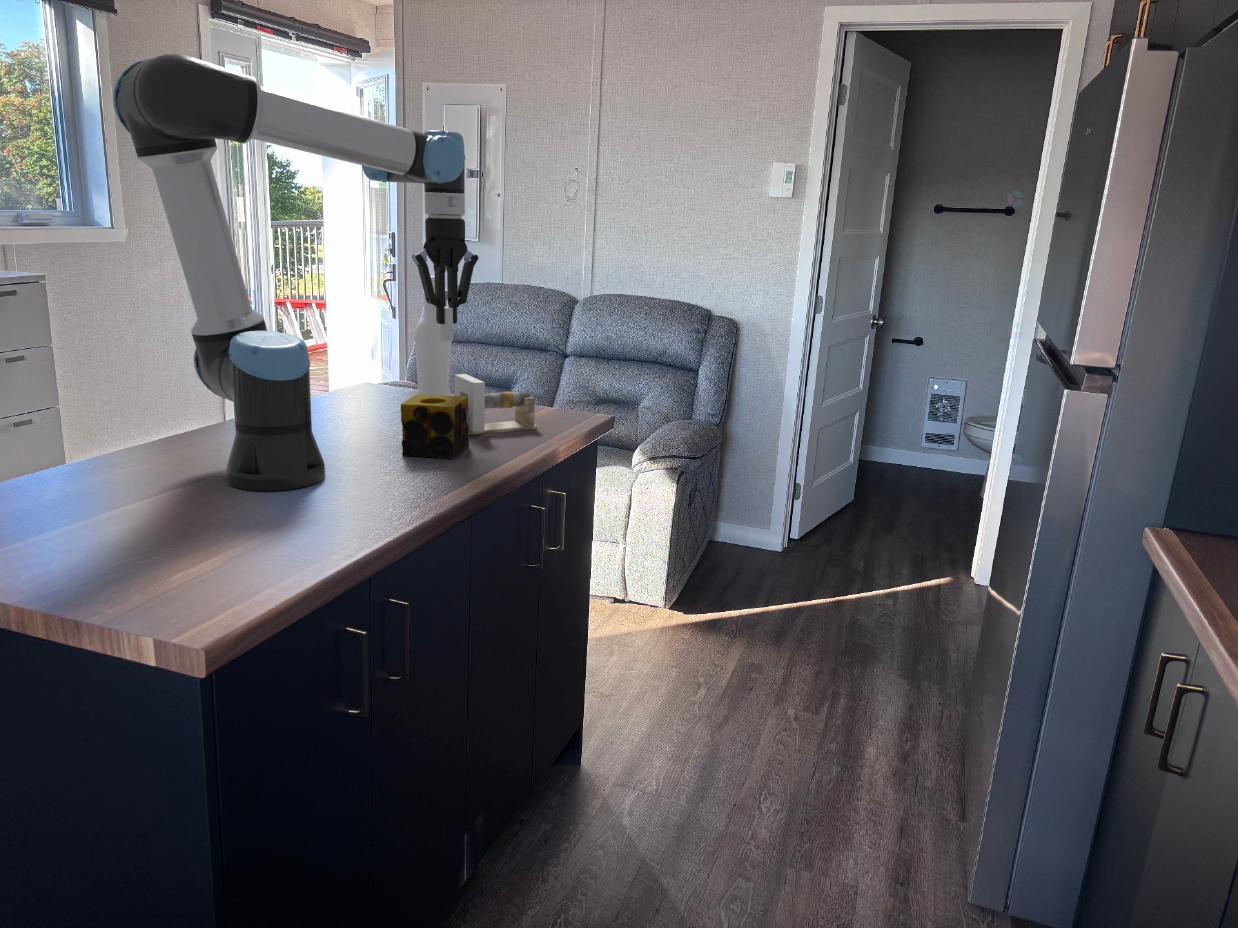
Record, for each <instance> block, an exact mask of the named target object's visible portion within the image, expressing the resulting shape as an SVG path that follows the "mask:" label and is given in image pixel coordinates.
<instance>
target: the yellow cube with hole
mask: <svg viewBox="0 0 1238 928" xmlns="http://www.w3.org/2000/svg"><path fill="white" fill-rule="evenodd" d="M416 394H417V393H416ZM416 394H414V396H411V397H410V398H408V399H406V400H405V401H403V402H401V403H400V422H401V425H402V429H401V430H402V434H401V435H402V439H401V446H402V447H401V448H402V453H401V456H403V457H409V458H410V457H412V458H413V457H414V458H427V459H441V460H453V459H454V460H455V459H456V458H457V457H459V456H460V455H461V454H463V453H464V451H465V450H466V449H468V448H469V446H470V443H469V442H470V440H469V436H470V435H468V424H467V421H466V410H467V401H468V397H467V396H455V395H451V396H445V395H424V394H417V395H416Z"/></svg>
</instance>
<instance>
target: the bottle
mask: <svg viewBox="0 0 1238 928" xmlns="http://www.w3.org/2000/svg"><path fill="white" fill-rule="evenodd" d="M430 277H431V281H432V285H433V289H434V293H435V275H430ZM423 299H424V301H423V304H424V305H423V316H422V318H421V319H419V321H418V323H417V325H416V326H415V329H414V334H413V335H414V337H413V338H414V350H415V361H416V362H415V363H416V364H415V365H416V376H417V390H416V394H415V395H417V394H424V395H445V396H452V394H451V391H450V375H451V373H450V372H451V359H452V358H451V356H452V353H451V352H452V341H449V342H446V341H443V340H441V324H438V323H437V321H436V307H435V306H434V305H432V304H429V303H427V301H426V298H425V294H423Z"/></svg>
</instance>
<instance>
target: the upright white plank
mask: <svg viewBox="0 0 1238 928" xmlns="http://www.w3.org/2000/svg"><path fill="white" fill-rule="evenodd" d="M485 386H486V383H485V381H482V380H480V379H478V378H476V377H473V376H471V375H469V374H467V373H458V374H456V373H455V374H454V396H464V395H468V410H466V421H467V424H468V429H469V430H470V431H472V432H481V431H485V422H486V421H485V416H486V414H485V413H486V411H485V394H486V393H485V392H486V387H485Z"/></svg>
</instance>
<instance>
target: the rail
mask: <svg viewBox="0 0 1238 928" xmlns="http://www.w3.org/2000/svg"><path fill="white" fill-rule="evenodd" d="M464 396H467V397H468V395H464ZM535 399H536V398H535V397H533V396H531V395H530V393H529V391H525V390H524V391H514V392H513V391H500V392H497V393H485V409H486V410H488V409H510V408H511V409H512V408H513V407H515V409H514V412H515V413H514V415H515V417H514V418H515V419H514V420H511V421H509V420H507V421H500V422H499V421H498V422H486V423H485V431H481V432H472V431H470V430H469V429H468V436H472V435H482V434H494V433H503V432H506V433H507V432H515V431H516V432H518V431H527V430H537V429H538V425H536V424H535ZM467 410H468V401H467Z"/></svg>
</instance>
